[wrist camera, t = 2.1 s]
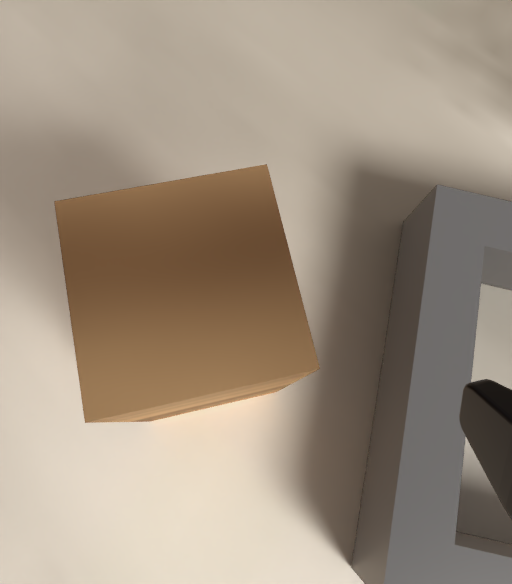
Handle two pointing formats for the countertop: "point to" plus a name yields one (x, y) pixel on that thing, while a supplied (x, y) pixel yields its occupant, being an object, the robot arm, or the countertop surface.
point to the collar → (431, 397)
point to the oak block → (182, 296)
